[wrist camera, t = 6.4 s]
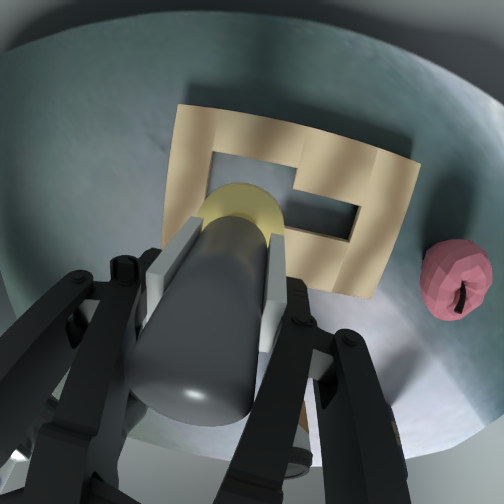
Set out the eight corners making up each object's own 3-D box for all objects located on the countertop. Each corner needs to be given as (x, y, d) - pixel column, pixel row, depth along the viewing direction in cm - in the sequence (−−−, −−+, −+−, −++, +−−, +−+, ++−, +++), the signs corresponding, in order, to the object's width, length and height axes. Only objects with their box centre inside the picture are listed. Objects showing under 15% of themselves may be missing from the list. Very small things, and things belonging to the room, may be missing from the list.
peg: (194, 253, 21) (111, 411, 9) (205, 175, 19) (80, 287, 6) (273, 270, 22) (262, 449, 9) (293, 193, 19) (320, 345, 6)
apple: (445, 292, 33) (479, 338, 24) (395, 286, 33) (425, 339, 24) (469, 227, 29) (515, 263, 20) (418, 215, 29) (464, 252, 20)
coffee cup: (246, 381, 42) (236, 465, 28) (296, 366, 40) (300, 456, 26) (269, 407, 45) (265, 483, 31) (315, 395, 43) (321, 474, 29)
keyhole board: (168, 246, 33) (160, 256, 30) (186, 105, 26) (178, 104, 24) (365, 287, 33) (370, 299, 31) (410, 160, 26) (420, 164, 24)
